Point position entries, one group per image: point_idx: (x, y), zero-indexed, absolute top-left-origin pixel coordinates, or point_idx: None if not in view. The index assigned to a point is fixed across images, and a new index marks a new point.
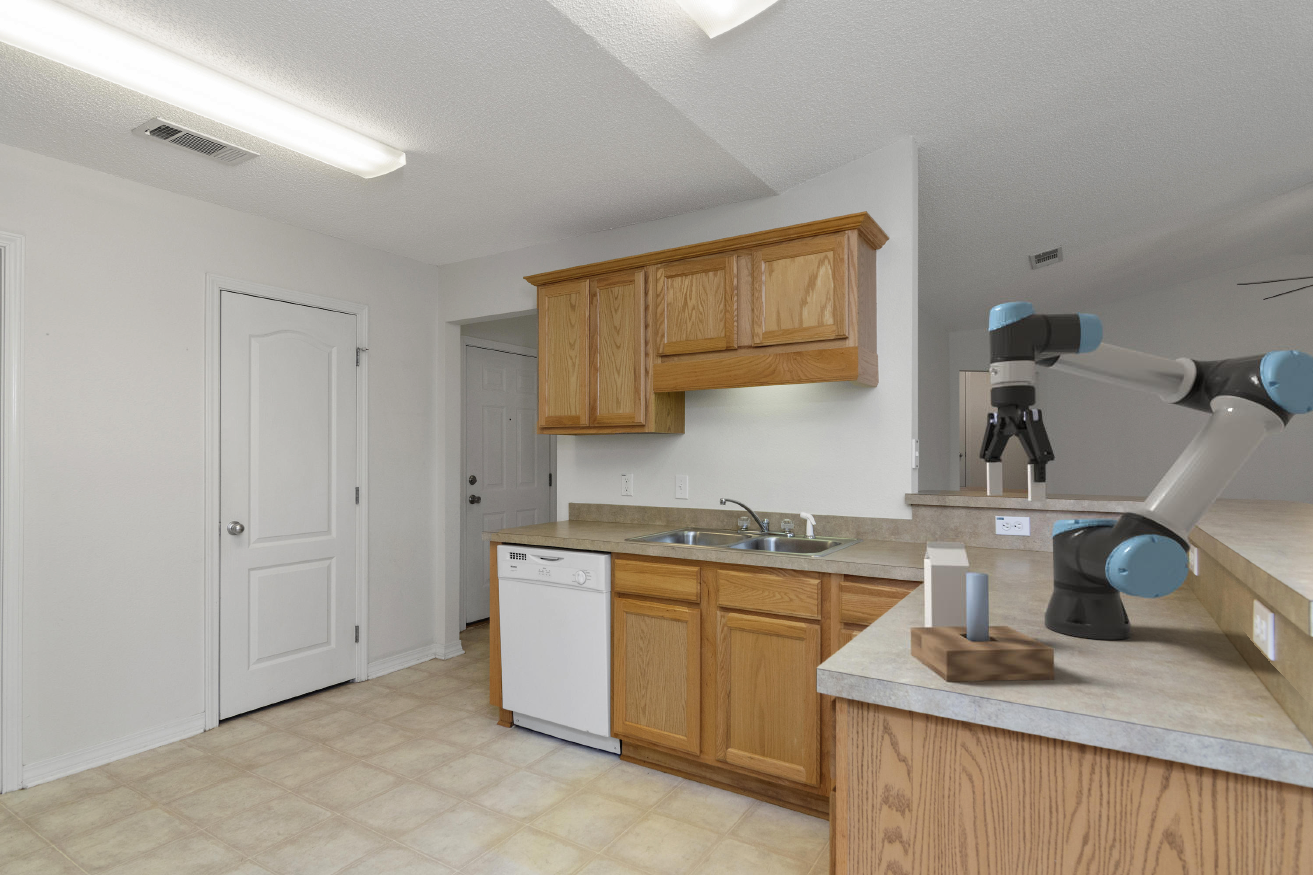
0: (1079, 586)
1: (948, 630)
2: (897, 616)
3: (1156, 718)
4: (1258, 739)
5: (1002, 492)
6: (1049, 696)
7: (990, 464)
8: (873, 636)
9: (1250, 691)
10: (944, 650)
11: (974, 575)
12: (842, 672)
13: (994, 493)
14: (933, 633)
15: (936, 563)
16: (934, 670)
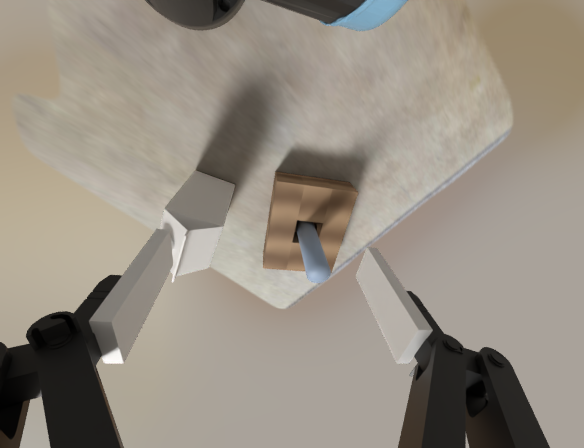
0: None
1: (279, 244)
2: (115, 201)
3: (434, 171)
4: (490, 135)
5: (167, 235)
6: (374, 211)
7: (125, 350)
8: None
9: (452, 7)
10: None
11: (323, 279)
12: (290, 305)
13: (170, 255)
14: (285, 260)
15: (207, 262)
16: None
